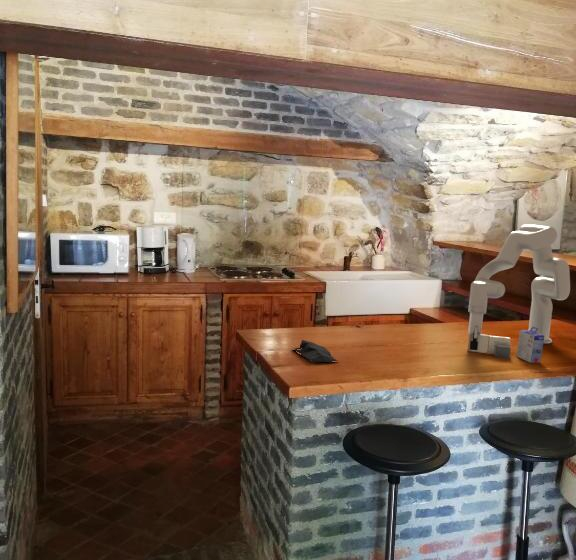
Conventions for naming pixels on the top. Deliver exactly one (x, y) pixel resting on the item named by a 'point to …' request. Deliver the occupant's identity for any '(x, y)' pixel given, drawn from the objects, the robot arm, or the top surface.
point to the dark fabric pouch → (314, 352)
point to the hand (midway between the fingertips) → (473, 348)
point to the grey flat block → (479, 343)
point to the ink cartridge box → (530, 345)
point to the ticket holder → (499, 346)
